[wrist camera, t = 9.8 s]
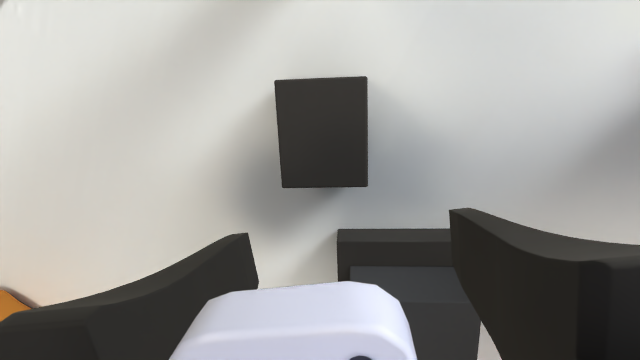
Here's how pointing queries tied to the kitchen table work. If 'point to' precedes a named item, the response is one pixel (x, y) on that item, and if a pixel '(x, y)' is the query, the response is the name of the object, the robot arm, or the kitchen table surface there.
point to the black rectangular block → (429, 308)
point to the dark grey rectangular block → (323, 132)
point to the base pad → (392, 248)
